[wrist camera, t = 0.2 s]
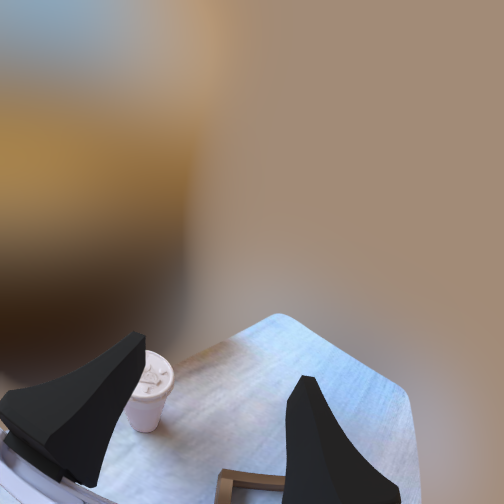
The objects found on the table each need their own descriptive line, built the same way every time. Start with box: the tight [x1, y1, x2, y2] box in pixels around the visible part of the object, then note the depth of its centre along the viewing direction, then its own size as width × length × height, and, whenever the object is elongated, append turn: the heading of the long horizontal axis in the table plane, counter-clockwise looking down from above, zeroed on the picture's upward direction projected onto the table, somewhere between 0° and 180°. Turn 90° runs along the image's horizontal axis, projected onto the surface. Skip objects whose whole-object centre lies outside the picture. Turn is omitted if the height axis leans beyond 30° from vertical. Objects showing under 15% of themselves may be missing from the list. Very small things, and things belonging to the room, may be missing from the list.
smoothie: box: [124, 350, 174, 433], centre depth 23 cm, size 6×6×14 cm
